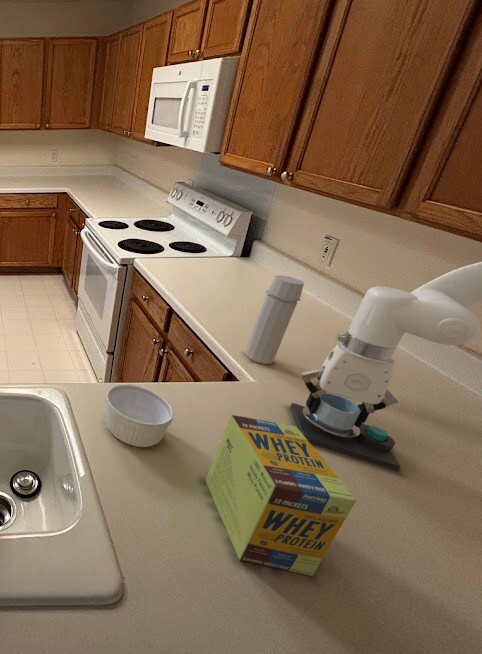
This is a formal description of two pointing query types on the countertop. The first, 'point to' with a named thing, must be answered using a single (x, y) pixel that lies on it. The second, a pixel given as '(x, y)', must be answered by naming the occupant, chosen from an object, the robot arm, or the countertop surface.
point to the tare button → (377, 433)
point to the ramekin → (137, 415)
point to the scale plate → (343, 433)
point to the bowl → (337, 412)
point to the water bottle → (274, 319)
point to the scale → (348, 442)
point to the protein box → (276, 495)
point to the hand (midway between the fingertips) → (332, 416)
